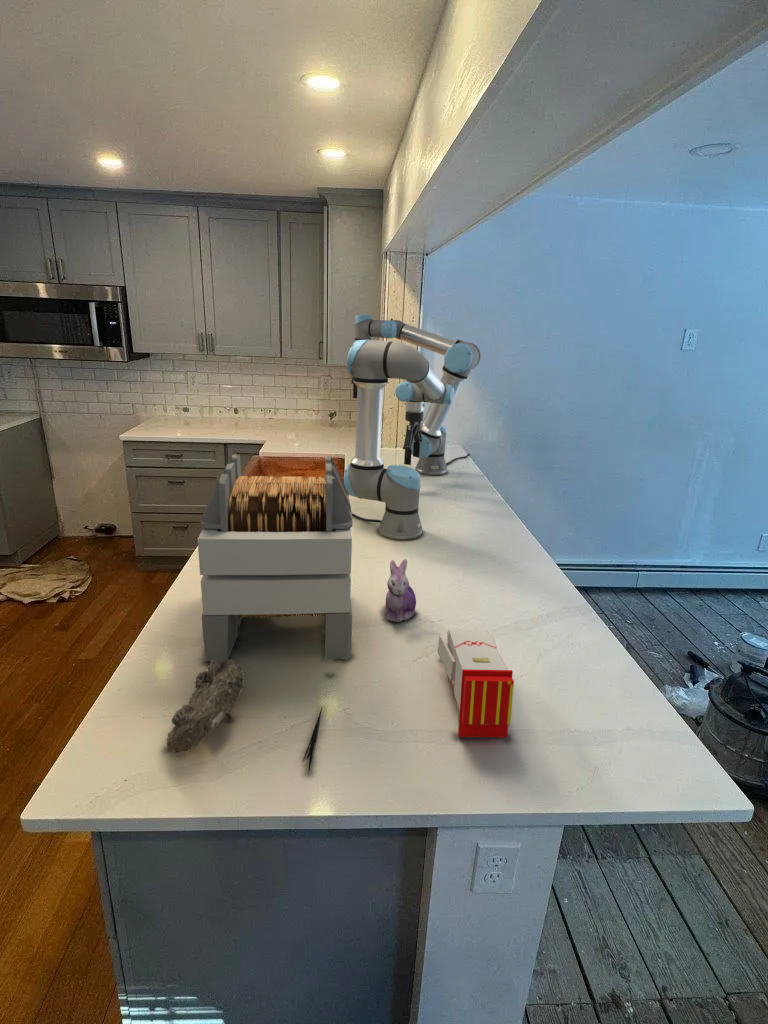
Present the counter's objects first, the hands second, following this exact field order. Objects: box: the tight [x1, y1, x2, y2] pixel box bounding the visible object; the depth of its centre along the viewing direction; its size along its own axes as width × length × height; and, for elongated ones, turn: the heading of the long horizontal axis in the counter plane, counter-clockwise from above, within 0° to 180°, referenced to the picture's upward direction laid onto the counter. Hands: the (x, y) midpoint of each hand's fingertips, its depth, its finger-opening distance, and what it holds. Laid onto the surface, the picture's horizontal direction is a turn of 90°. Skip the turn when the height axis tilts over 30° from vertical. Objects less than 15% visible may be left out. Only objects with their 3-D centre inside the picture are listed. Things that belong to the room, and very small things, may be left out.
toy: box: [437, 628, 515, 738], centre depth 117 cm, size 12×13×30 cm
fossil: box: [166, 658, 245, 754], centre depth 106 cm, size 22×10×15 cm
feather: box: [301, 673, 332, 771], centre depth 108 cm, size 2×28×2 cm
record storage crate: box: [197, 454, 354, 663], centre depth 134 cm, size 34×33×41 cm
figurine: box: [384, 558, 417, 623], centre depth 145 cm, size 9×10×15 cm
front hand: (411, 460), depth 243 cm, fingers open, 13 cm apart
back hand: (360, 396), depth 268 cm, fingers open, 13 cm apart
